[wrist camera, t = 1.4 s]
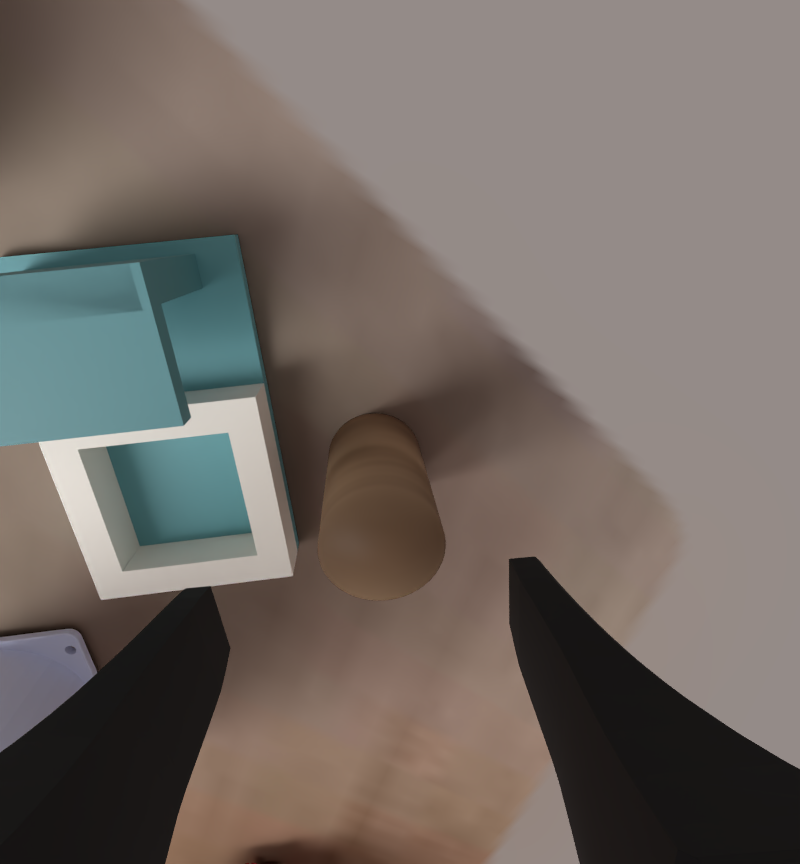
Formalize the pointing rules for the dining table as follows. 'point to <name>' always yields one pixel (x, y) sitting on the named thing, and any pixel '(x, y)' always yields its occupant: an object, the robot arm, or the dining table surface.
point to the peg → (378, 511)
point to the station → (149, 411)
